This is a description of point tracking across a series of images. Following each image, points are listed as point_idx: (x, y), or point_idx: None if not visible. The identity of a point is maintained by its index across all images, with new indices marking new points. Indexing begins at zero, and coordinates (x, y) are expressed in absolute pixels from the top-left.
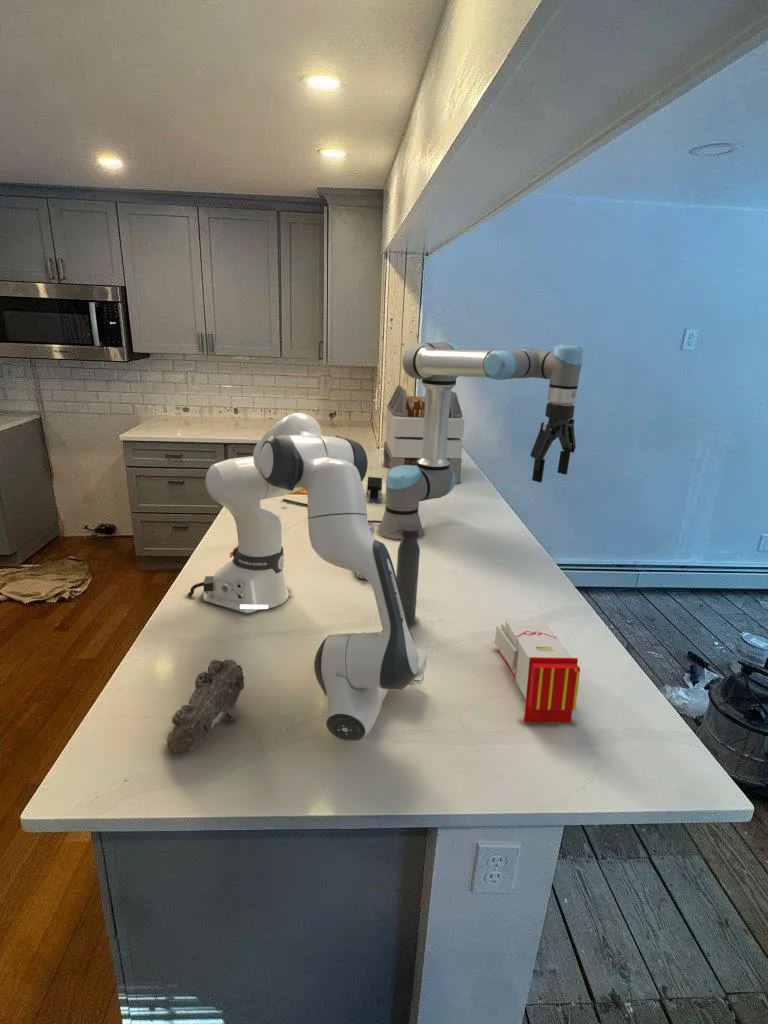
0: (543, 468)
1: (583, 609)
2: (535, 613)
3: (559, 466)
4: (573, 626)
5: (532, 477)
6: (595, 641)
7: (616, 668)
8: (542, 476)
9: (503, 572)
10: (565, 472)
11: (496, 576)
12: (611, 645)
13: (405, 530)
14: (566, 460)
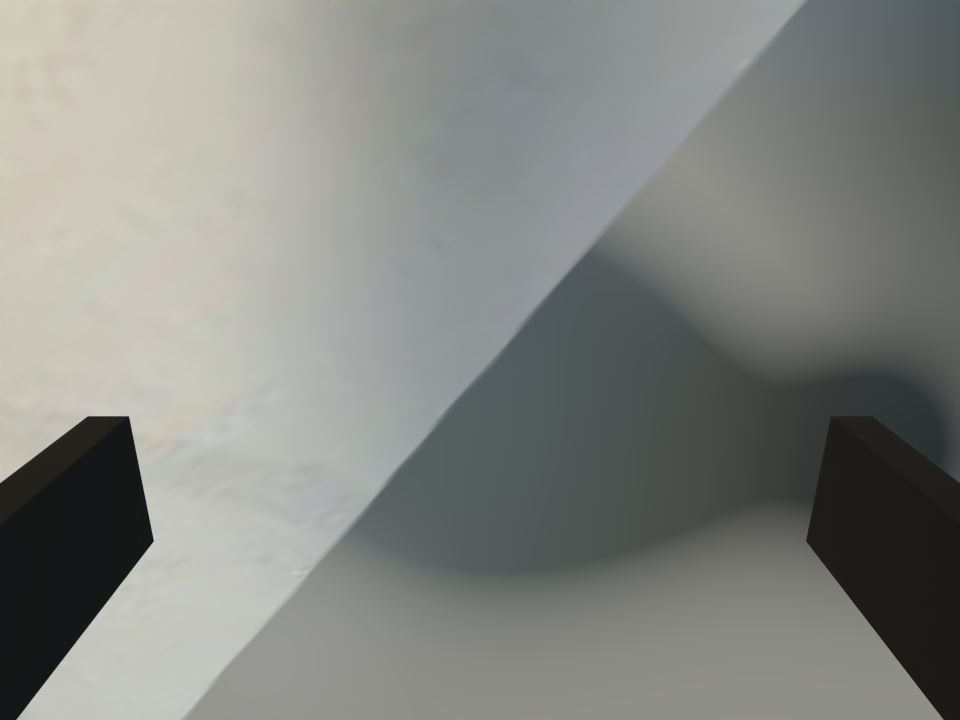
0: (13, 708)
1: (357, 514)
2: (173, 424)
3: (891, 489)
4: (221, 546)
5: (63, 436)
6: (205, 623)
7: (136, 707)
8: (104, 598)
9: (358, 113)
10: (822, 556)
11: (290, 118)
12: (228, 657)
13: None
14: (956, 702)
